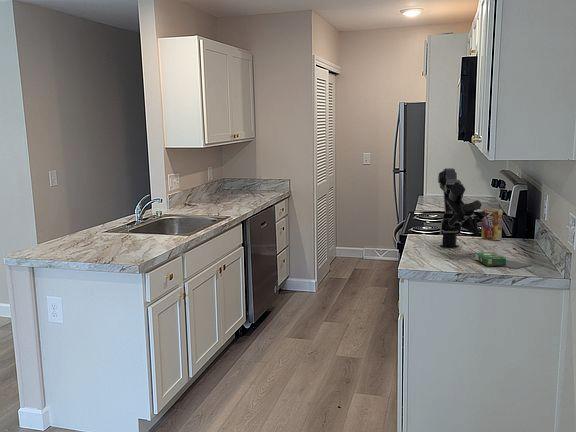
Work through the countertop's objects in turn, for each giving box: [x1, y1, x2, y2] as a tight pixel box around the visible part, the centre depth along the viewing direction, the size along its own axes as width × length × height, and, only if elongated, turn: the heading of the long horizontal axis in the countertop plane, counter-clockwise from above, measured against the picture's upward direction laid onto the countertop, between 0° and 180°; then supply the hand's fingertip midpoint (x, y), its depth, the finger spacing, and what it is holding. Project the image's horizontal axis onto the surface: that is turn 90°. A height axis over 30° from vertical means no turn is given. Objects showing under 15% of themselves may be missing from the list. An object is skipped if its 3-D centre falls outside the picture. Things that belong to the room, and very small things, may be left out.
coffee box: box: [474, 251, 507, 267], centre depth 219 cm, size 8×3×13 cm
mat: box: [498, 259, 533, 270], centre depth 217 cm, size 14×10×1 cm
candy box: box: [481, 208, 503, 241], centre depth 269 cm, size 9×4×15 cm, turn 39°
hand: (478, 234), depth 229 cm, fingers closed
